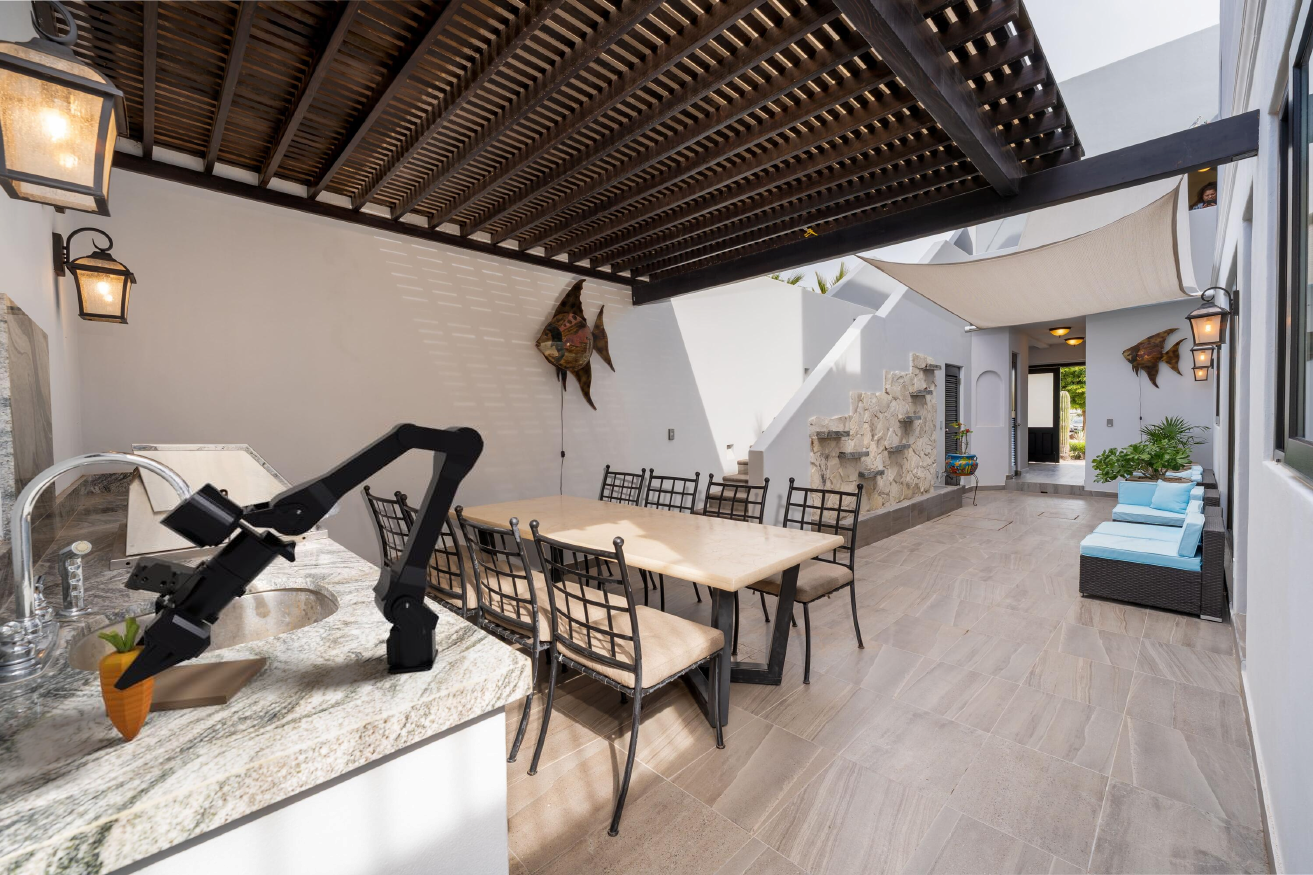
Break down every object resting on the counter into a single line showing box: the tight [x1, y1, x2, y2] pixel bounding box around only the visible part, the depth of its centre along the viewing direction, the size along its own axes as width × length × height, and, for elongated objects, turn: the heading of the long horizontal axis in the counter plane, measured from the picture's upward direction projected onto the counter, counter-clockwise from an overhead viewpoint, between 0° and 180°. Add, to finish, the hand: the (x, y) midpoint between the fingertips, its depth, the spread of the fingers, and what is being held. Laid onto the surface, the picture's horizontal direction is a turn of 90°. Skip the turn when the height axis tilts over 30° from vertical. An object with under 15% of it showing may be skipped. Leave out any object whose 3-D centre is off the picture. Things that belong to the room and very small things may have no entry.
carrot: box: [97, 616, 154, 741], centre depth 68 cm, size 5×5×15 cm
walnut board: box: [105, 657, 268, 717], centre depth 81 cm, size 14×12×1 cm
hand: (123, 673), depth 68 cm, fingers open, 9 cm apart
